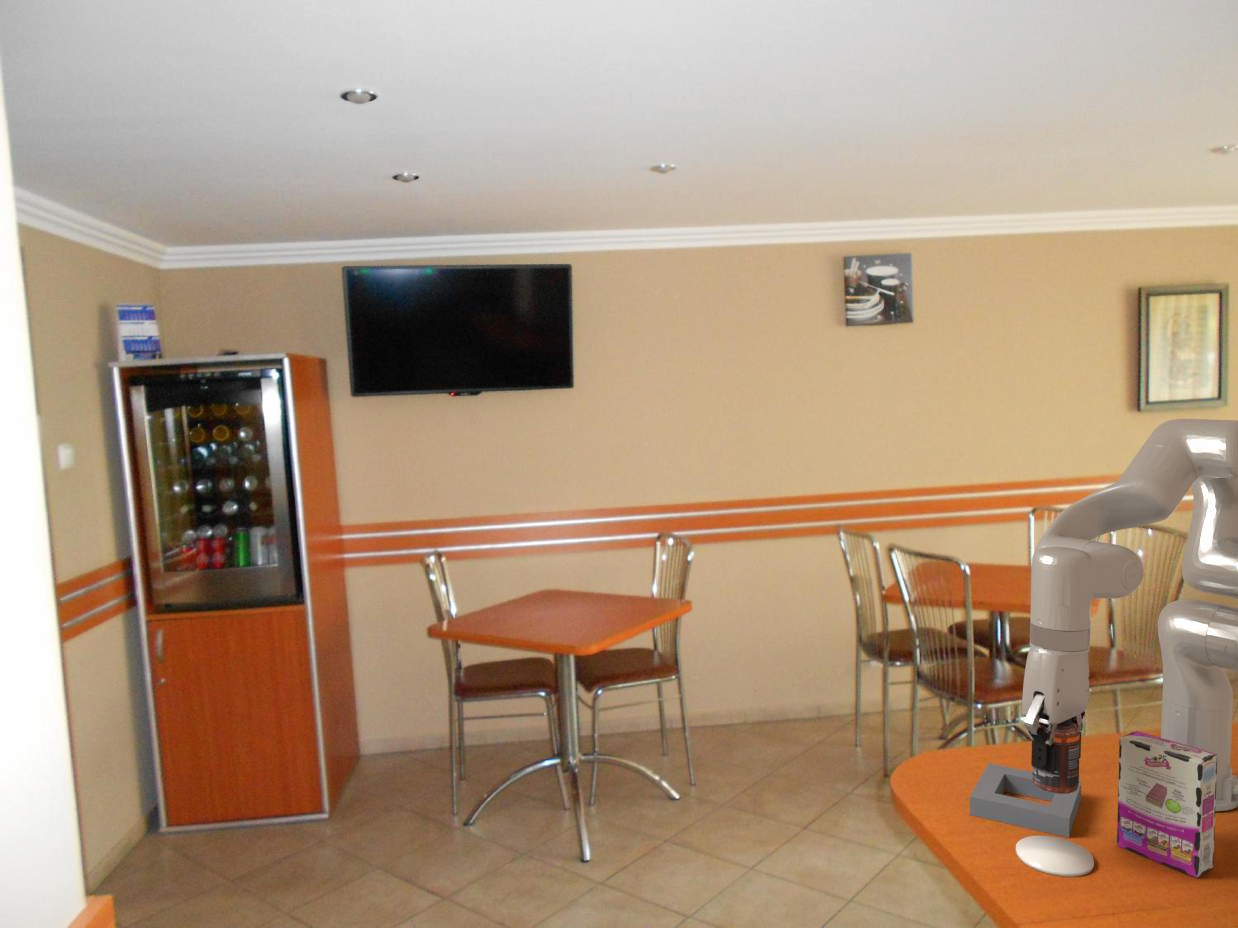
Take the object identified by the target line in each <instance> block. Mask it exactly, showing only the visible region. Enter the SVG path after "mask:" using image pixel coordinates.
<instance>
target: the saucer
mask: <svg viewBox="0 0 1238 928" xmlns="http://www.w3.org/2000/svg"><path fill="white" fill-rule="evenodd" d="M1015 854H1016V857H1017V858H1018V860H1020V861H1021V862H1022V863H1023V864H1025V865H1026V866H1027V867H1030V868H1031V869H1034V870H1036V871H1037V872H1041V873H1044V874H1047V875H1052V876H1056V877H1063V878H1065V877H1067V878H1068V877H1069V878H1074V877H1081V876H1085V875H1088V874H1089V873H1091V872H1092V871H1093V870H1094V867H1095V860H1094V856H1093V855H1092V853H1090V851H1088V849H1086V848H1085V847H1083V846H1081V845H1079V844H1078V843H1076V842H1073V841H1071V840H1067V839H1065V838H1061V837H1057V836H1050V835H1031V836H1030V835H1029V836H1026V837H1023V838H1021V839H1019V840H1018V841H1017V842H1016V845H1015Z"/></svg>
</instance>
